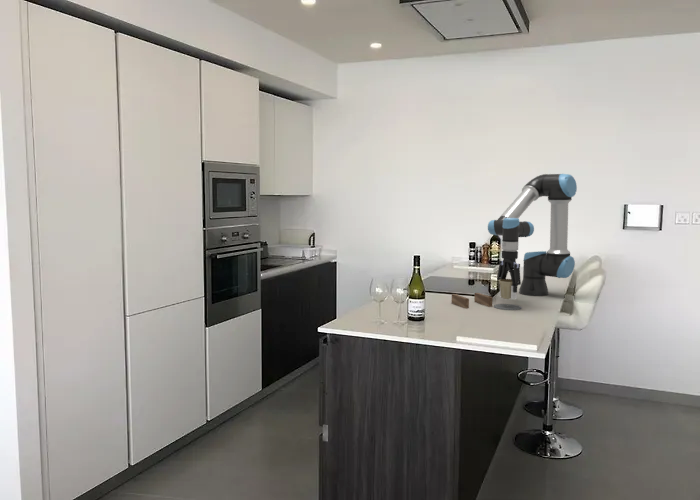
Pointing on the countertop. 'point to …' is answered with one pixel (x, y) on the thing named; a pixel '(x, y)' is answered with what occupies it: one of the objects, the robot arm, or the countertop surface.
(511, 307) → the disc
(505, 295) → the flower pot
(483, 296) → the slot holder
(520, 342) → the countertop surface
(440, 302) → the countertop surface
